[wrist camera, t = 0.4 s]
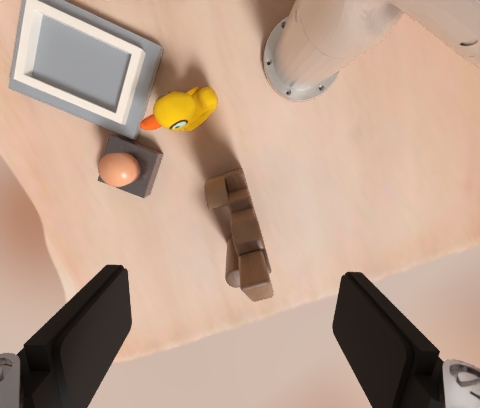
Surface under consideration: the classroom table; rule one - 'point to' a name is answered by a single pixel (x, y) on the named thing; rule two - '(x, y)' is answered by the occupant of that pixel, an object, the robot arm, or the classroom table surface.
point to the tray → (84, 65)
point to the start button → (119, 169)
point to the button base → (145, 158)
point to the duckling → (182, 110)
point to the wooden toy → (241, 236)
